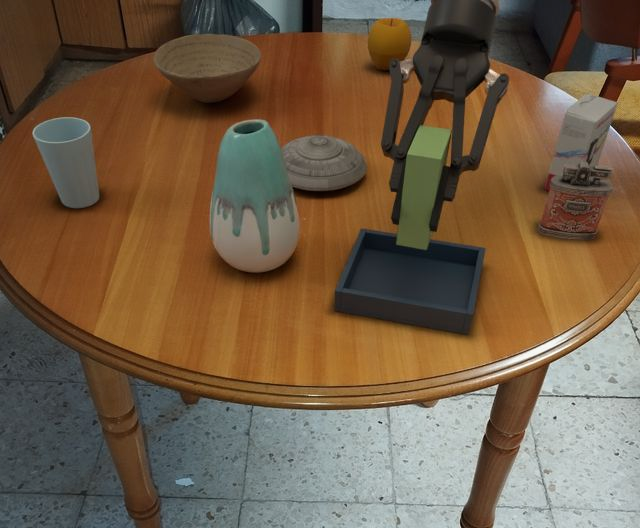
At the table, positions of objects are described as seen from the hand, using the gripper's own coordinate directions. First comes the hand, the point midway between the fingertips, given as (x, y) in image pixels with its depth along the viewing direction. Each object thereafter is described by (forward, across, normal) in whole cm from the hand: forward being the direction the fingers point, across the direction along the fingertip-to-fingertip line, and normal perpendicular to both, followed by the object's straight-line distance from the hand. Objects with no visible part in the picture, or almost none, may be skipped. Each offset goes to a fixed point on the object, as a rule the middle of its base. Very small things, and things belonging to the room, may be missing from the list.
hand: (414, 224), depth 76 cm
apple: (-43, +19, -59) cm, 76 cm away
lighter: (-8, -18, -25) cm, 32 cm away
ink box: (-18, -18, -35) cm, 43 cm away
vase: (+5, +21, -11) cm, 24 cm away
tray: (+5, 0, -11) cm, 12 cm away
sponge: (-1, 0, -5) cm, 5 cm away
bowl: (-26, +46, -42) cm, 68 cm away
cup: (+1, +51, -16) cm, 53 cm away
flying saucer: (-12, +20, -28) cm, 36 cm away
